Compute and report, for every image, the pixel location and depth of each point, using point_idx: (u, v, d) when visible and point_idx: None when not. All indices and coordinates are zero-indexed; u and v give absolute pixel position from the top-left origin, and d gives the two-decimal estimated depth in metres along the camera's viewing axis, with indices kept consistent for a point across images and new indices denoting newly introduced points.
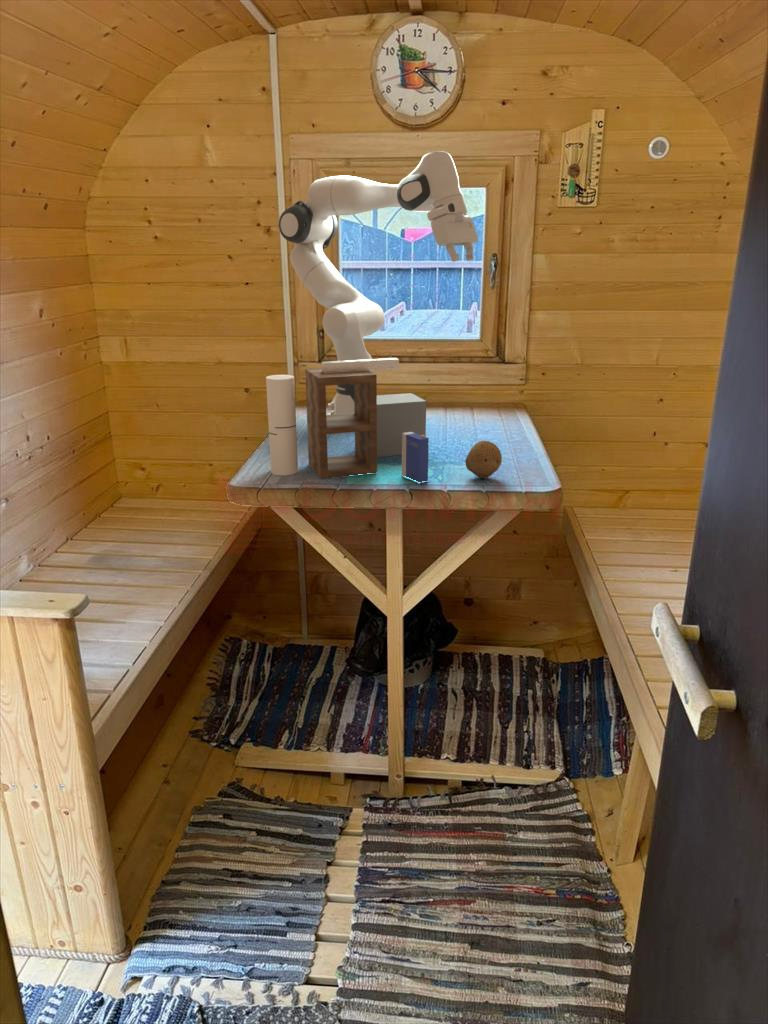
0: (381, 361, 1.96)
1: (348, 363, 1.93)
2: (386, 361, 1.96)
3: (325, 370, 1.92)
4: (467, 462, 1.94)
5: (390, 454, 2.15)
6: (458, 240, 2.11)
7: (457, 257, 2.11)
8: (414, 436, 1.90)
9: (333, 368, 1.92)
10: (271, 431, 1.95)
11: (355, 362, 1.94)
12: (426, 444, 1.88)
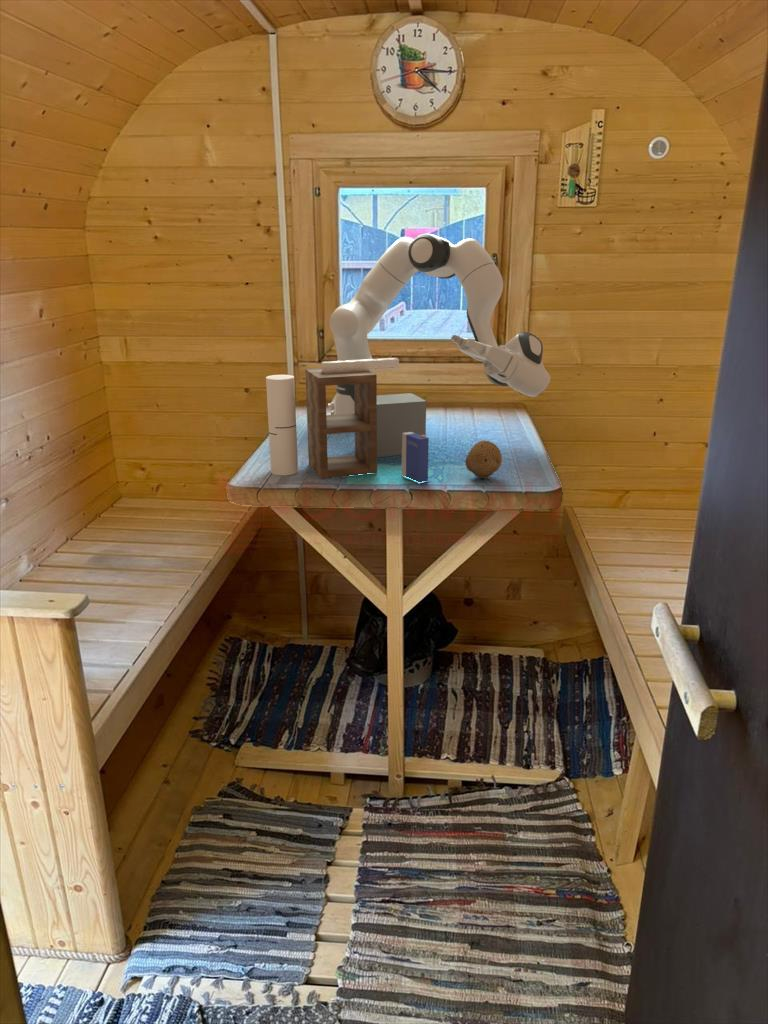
0: (381, 361, 1.96)
1: (348, 363, 1.93)
2: (386, 361, 1.96)
3: (325, 370, 1.92)
4: (467, 462, 1.94)
5: (390, 454, 2.15)
6: (477, 355, 2.01)
7: (467, 345, 1.98)
8: (414, 436, 1.90)
9: (333, 368, 1.92)
10: (271, 431, 1.95)
11: (355, 362, 1.94)
12: (426, 444, 1.88)
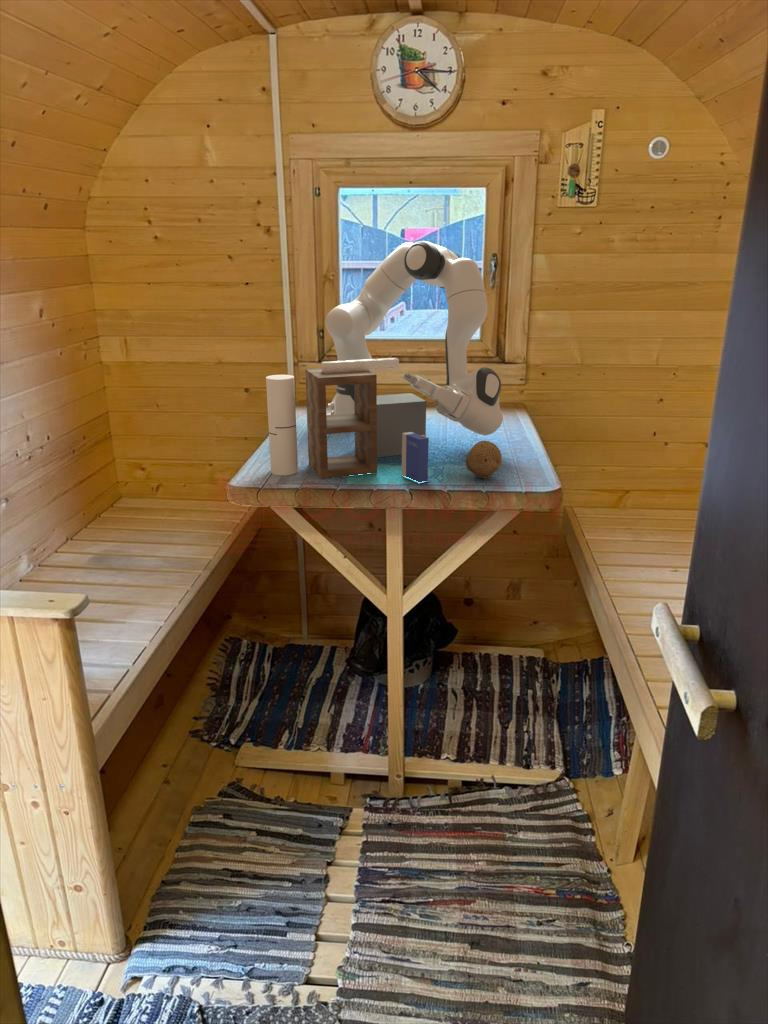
0: (381, 361, 1.96)
1: (348, 363, 1.93)
2: (386, 361, 1.96)
3: (325, 370, 1.92)
4: (467, 462, 1.94)
5: (390, 454, 2.15)
6: (427, 395, 2.01)
7: (417, 385, 1.97)
8: (414, 436, 1.90)
9: (333, 368, 1.92)
10: (271, 431, 1.95)
11: (355, 362, 1.94)
12: (426, 444, 1.88)
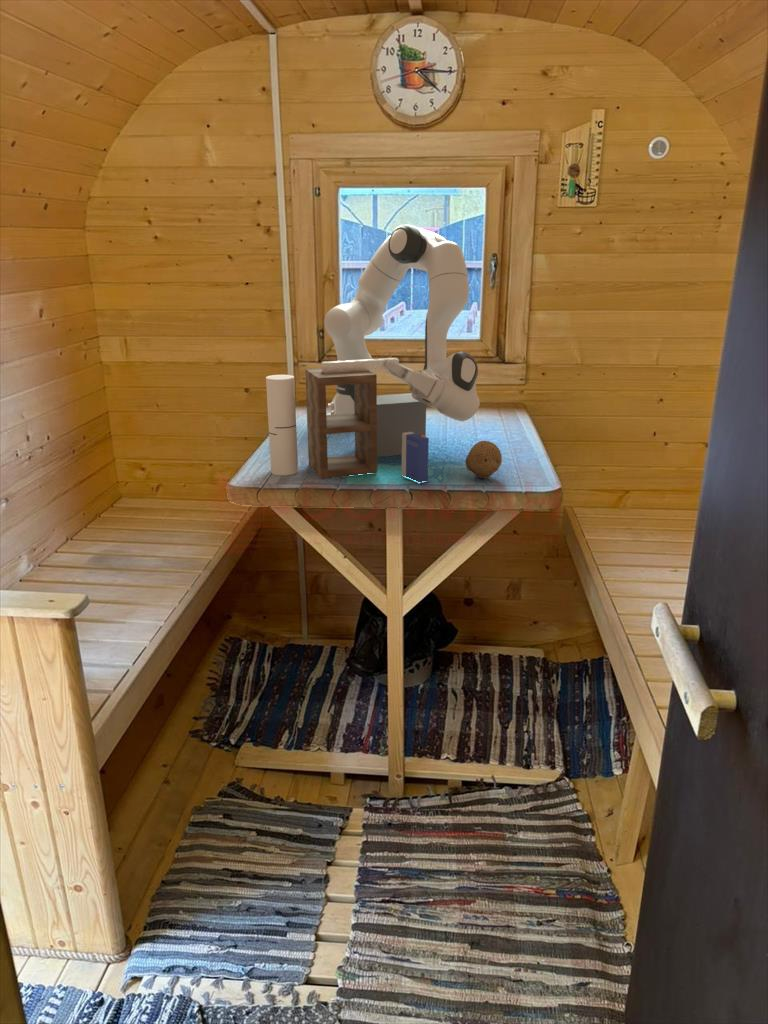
0: (381, 361, 1.96)
1: (348, 363, 1.93)
2: None
3: (325, 370, 1.92)
4: (467, 462, 1.94)
5: (390, 454, 2.15)
6: (400, 379, 1.97)
7: (387, 367, 1.96)
8: (414, 436, 1.90)
9: (333, 368, 1.92)
10: (271, 431, 1.95)
11: (355, 362, 1.94)
12: (426, 444, 1.88)
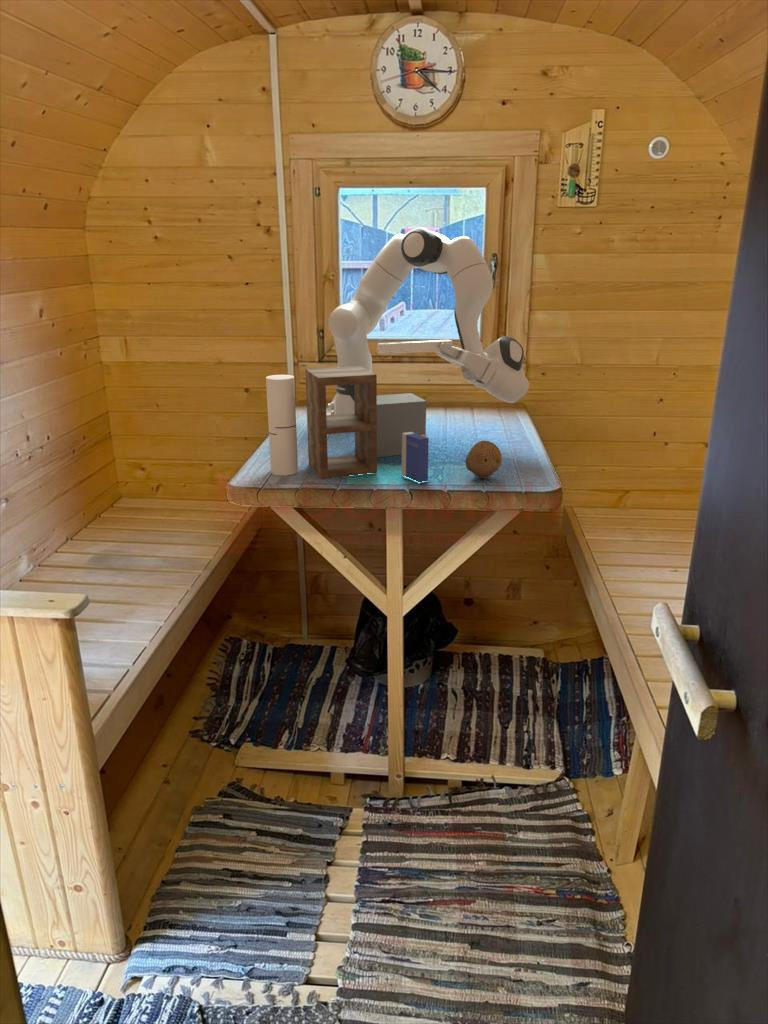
0: (435, 343, 1.99)
1: (404, 344, 1.96)
2: None
3: (381, 351, 1.95)
4: (467, 462, 1.94)
5: (390, 454, 2.15)
6: (454, 360, 2.00)
7: (441, 349, 1.99)
8: (414, 436, 1.90)
9: (389, 349, 1.95)
10: (271, 431, 1.95)
11: (410, 343, 1.97)
12: (426, 444, 1.88)
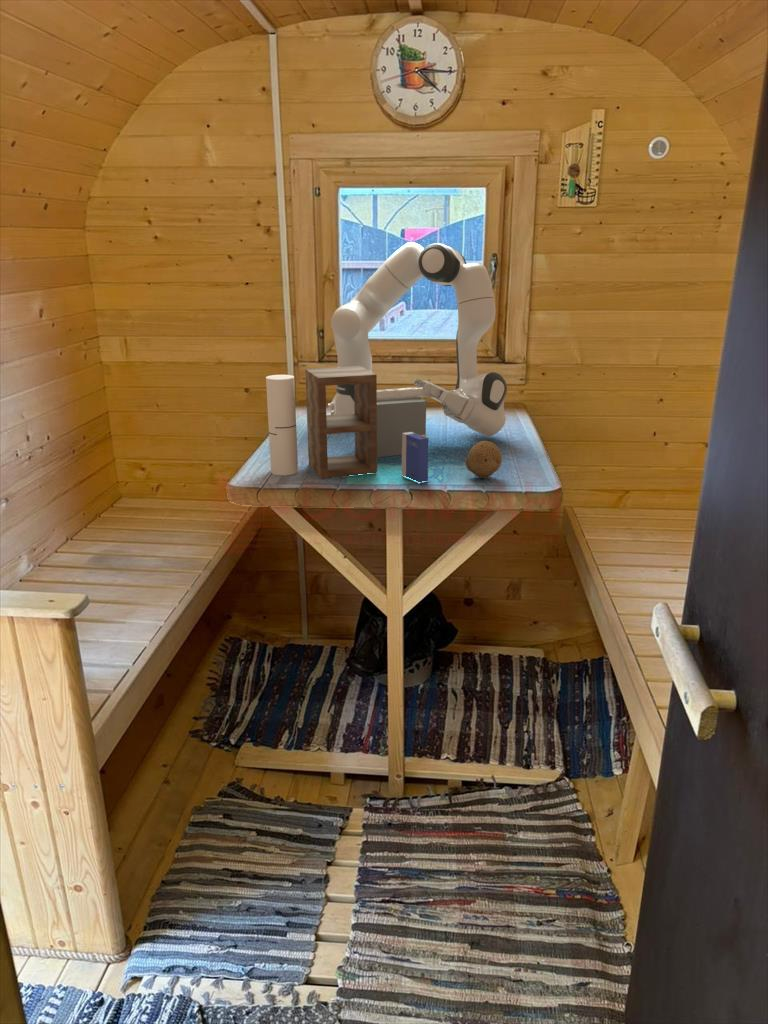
0: (418, 390, 2.17)
1: (388, 392, 2.14)
2: (422, 390, 2.17)
3: None
4: (467, 462, 1.94)
5: (390, 454, 2.15)
6: (435, 398, 2.17)
7: None
8: (414, 436, 1.90)
9: None
10: (271, 431, 1.95)
11: (394, 391, 2.15)
12: (426, 444, 1.88)
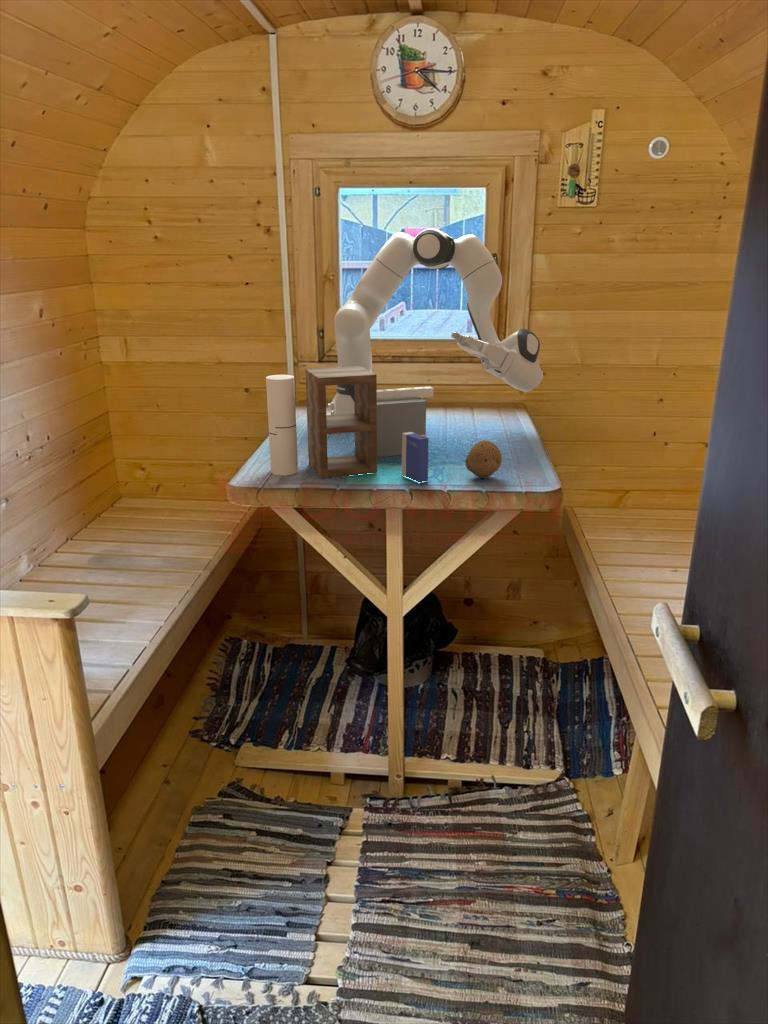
0: (418, 390, 2.17)
1: (388, 392, 2.14)
2: (422, 390, 2.17)
3: None
4: (467, 462, 1.94)
5: (390, 454, 2.15)
6: (475, 351, 2.16)
7: (466, 342, 2.13)
8: (414, 436, 1.90)
9: None
10: (271, 431, 1.95)
11: (394, 391, 2.15)
12: (426, 444, 1.88)
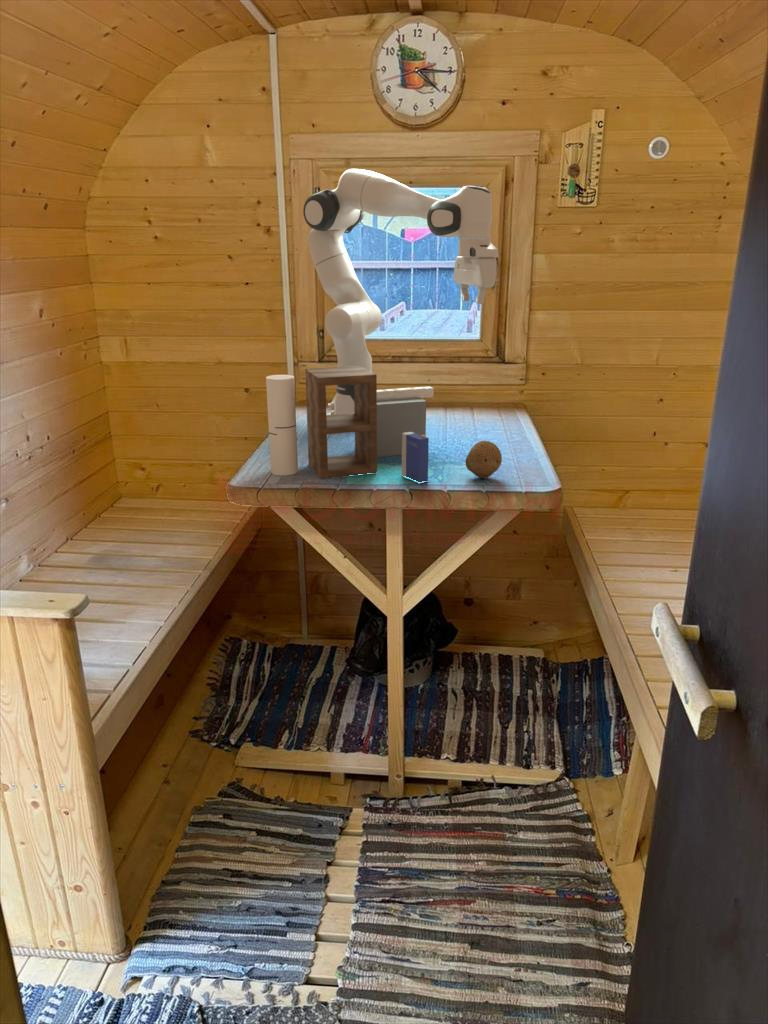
0: (418, 390, 2.17)
1: (388, 392, 2.14)
2: (422, 390, 2.17)
3: None
4: (467, 462, 1.94)
5: (390, 454, 2.15)
6: None
7: None
8: (414, 436, 1.90)
9: None
10: (271, 431, 1.95)
11: (394, 391, 2.15)
12: (426, 444, 1.88)
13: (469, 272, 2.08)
